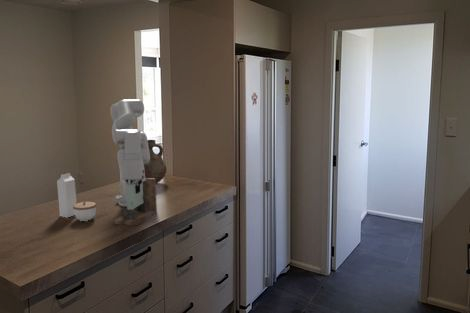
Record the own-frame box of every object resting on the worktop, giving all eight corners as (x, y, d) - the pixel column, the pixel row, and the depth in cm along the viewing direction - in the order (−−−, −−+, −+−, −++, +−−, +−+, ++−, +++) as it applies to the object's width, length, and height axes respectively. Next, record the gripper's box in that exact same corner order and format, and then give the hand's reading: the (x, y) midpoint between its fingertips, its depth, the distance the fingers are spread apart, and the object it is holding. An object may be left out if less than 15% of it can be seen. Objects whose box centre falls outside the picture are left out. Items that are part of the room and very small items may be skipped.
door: (127, 209, 198) (126, 185, 196) (139, 202, 209) (138, 179, 207) (131, 209, 197) (130, 185, 195) (143, 202, 208) (142, 180, 206)
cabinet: (113, 223, 195) (111, 187, 192) (136, 210, 216) (134, 177, 213) (136, 225, 192) (134, 188, 189) (156, 211, 213) (155, 178, 210)
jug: (135, 181, 282) (133, 138, 277) (166, 180, 286) (165, 137, 280) (133, 189, 261) (131, 143, 256) (167, 187, 265) (165, 142, 259)
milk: (59, 216, 206) (55, 174, 202) (69, 213, 211) (65, 172, 207) (68, 218, 203) (64, 175, 199) (77, 215, 209) (74, 173, 205)
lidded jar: (81, 224, 194) (79, 205, 192) (69, 220, 201) (68, 201, 199) (101, 219, 202) (99, 201, 200) (89, 214, 209) (88, 197, 207)
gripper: (114, 157, 197) (116, 193, 200) (144, 158, 193) (146, 195, 196) (122, 154, 204) (124, 189, 207) (151, 155, 200) (153, 191, 203)
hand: (134, 192), depth 202 cm, fingers closed on door, 2 cm apart
